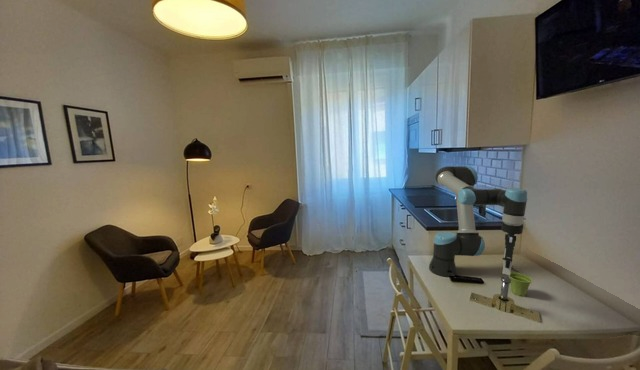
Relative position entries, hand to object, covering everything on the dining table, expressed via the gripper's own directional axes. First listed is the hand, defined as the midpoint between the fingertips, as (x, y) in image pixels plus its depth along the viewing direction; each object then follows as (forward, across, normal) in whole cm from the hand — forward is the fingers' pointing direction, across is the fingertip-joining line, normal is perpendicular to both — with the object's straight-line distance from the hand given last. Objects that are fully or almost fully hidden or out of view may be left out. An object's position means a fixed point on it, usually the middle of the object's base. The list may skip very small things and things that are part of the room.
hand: (506, 268), depth 115 cm
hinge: (+19, -1, 0) cm, 19 cm away
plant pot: (+20, +18, -6) cm, 28 cm away
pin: (+19, -1, 0) cm, 19 cm away
